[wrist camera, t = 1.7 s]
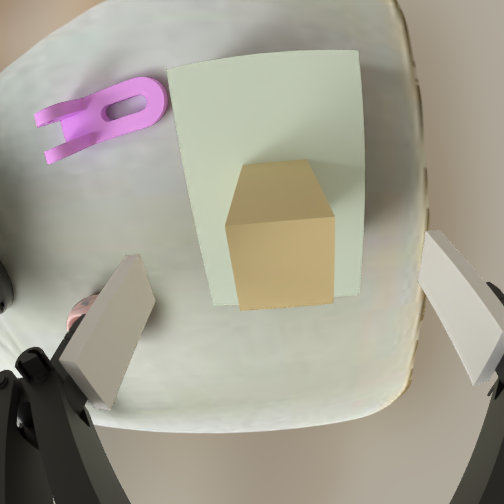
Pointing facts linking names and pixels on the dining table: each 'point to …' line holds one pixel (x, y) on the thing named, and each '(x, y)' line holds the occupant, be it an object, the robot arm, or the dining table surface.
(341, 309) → the dining table surface
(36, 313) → the dining table surface
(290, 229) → the lid
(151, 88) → the bracket
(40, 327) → the dining table surface
